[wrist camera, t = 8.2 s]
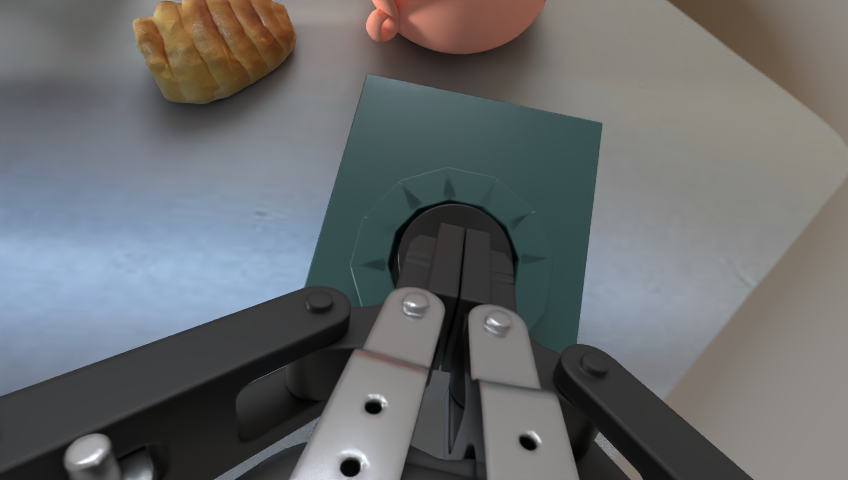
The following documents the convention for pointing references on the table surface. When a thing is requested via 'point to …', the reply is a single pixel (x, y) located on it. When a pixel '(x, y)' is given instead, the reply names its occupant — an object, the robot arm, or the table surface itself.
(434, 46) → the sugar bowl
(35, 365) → the table surface
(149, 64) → the pastry
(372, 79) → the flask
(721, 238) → the table surface
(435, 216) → the black knob
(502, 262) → the robot arm
